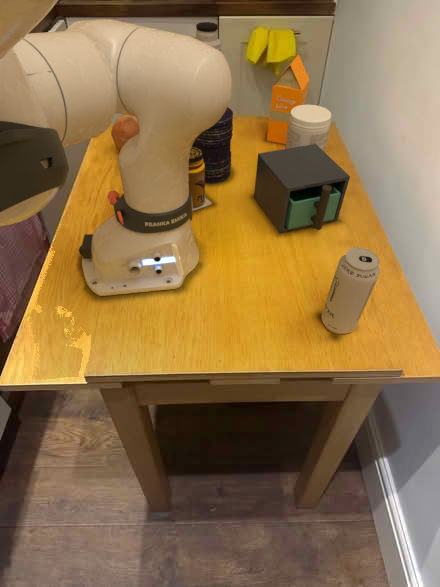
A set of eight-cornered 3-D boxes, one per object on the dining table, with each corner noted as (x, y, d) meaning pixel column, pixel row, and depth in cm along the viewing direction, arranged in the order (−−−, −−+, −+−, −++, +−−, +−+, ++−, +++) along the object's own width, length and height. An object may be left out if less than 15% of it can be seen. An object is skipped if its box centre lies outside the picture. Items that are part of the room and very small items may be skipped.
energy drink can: (320, 307, 72) (340, 242, 61) (354, 311, 72) (381, 247, 61) (320, 334, 68) (342, 270, 57) (356, 339, 68) (386, 275, 57)
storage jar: (191, 162, 105) (189, 103, 94) (229, 162, 105) (232, 103, 94) (191, 184, 98) (188, 122, 87) (231, 184, 98) (234, 123, 87)
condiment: (212, 204, 92) (213, 155, 84) (179, 216, 89) (176, 166, 80) (195, 188, 97) (194, 140, 88) (164, 199, 93) (159, 150, 84)
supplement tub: (320, 163, 106) (333, 106, 95) (319, 183, 99) (333, 124, 89) (283, 159, 107) (291, 101, 96) (280, 178, 100) (288, 119, 90)
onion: (112, 145, 110) (106, 107, 102) (149, 141, 112) (145, 104, 104) (116, 163, 103) (109, 125, 96) (155, 158, 105) (151, 120, 98)
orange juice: (300, 132, 117) (314, 55, 103) (293, 146, 112) (306, 66, 97) (274, 127, 119) (284, 51, 104) (265, 140, 113) (274, 62, 99)
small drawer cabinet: (337, 220, 89) (350, 176, 81) (279, 233, 86) (287, 188, 78) (306, 186, 98) (315, 143, 90) (253, 197, 95) (258, 153, 87)
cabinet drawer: (341, 227, 86) (354, 185, 78) (294, 238, 83) (303, 195, 76) (305, 187, 96) (313, 145, 88) (262, 195, 93) (267, 153, 86)
